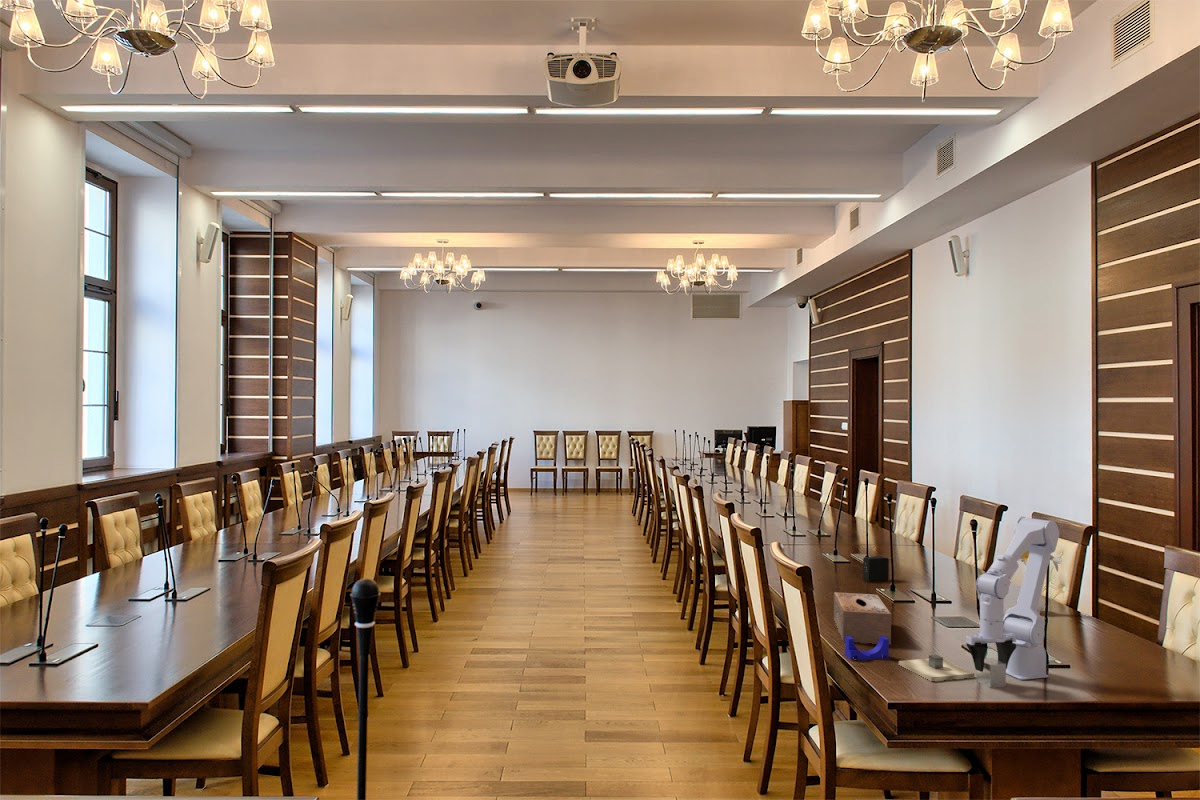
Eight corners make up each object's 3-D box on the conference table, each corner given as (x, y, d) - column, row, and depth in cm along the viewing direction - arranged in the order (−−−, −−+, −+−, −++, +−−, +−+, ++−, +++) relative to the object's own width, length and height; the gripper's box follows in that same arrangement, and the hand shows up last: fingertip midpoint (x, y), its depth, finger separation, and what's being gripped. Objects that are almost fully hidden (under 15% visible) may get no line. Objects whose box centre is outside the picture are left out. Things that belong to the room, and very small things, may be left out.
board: (939, 661, 229) (939, 657, 229) (974, 677, 216) (974, 673, 216) (898, 665, 225) (898, 661, 225) (931, 681, 212) (931, 677, 212)
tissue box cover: (890, 645, 245) (891, 614, 245) (843, 642, 247) (843, 611, 247) (876, 623, 270) (877, 594, 270) (833, 620, 273) (834, 592, 273)
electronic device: (862, 580, 337) (863, 557, 337) (882, 579, 340) (882, 556, 340) (869, 582, 333) (869, 558, 333) (888, 581, 336) (889, 557, 336)
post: (936, 665, 222) (936, 654, 222) (942, 668, 220) (942, 657, 220) (928, 665, 221) (928, 655, 221) (935, 668, 219) (935, 658, 219)
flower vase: (1066, 618, 279) (1067, 548, 279) (1010, 614, 283) (1011, 545, 283) (1053, 609, 292) (1054, 542, 292) (1000, 605, 295) (1001, 539, 296)
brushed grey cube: (991, 679, 214) (991, 657, 214) (1005, 686, 209) (1005, 663, 209) (976, 681, 213) (976, 659, 213) (990, 687, 208) (990, 665, 208)
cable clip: (850, 661, 229) (850, 640, 229) (845, 656, 234) (845, 636, 234) (890, 661, 230) (890, 640, 230) (884, 656, 234) (884, 636, 234)
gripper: (980, 624, 205) (979, 676, 205) (1025, 621, 209) (1024, 672, 209) (961, 617, 212) (960, 667, 212) (1005, 614, 216) (1004, 663, 216)
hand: (990, 669), depth 211 cm, fingers open, 7 cm apart
